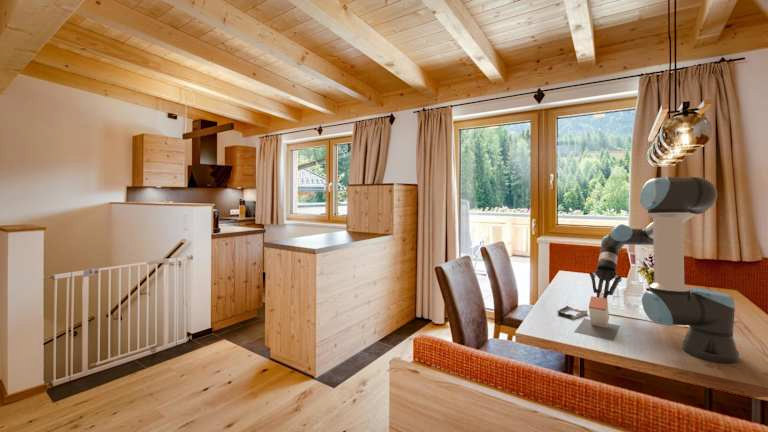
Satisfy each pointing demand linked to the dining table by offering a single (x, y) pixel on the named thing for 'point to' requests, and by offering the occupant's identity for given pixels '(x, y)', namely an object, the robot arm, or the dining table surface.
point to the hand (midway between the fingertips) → (600, 306)
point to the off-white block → (599, 311)
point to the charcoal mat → (597, 330)
